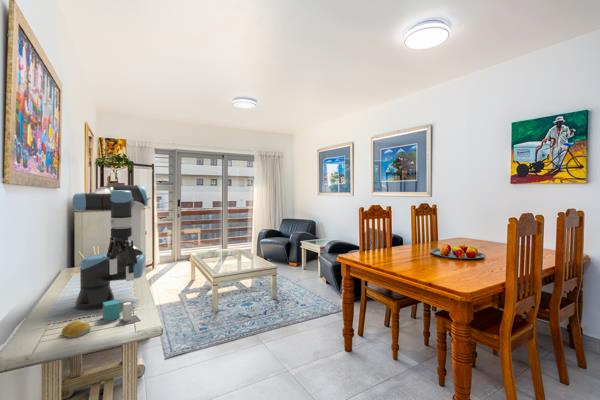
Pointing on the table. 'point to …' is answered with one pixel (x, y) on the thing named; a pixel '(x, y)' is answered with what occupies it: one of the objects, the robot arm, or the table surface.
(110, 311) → the teal toy brick
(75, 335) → the bread roll
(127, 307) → the white rectangular block
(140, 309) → the table surface
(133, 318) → the panel
